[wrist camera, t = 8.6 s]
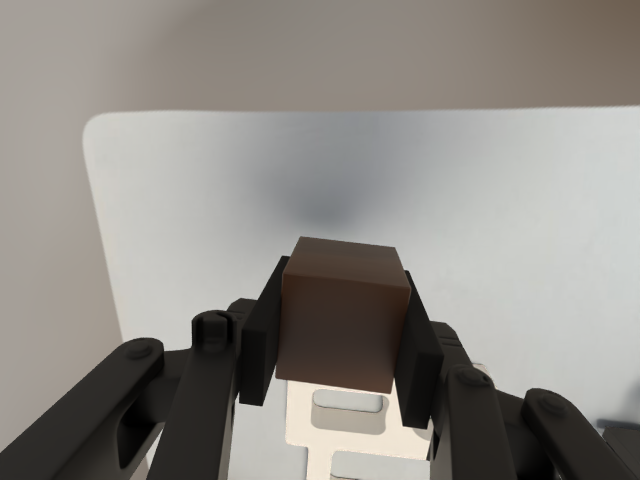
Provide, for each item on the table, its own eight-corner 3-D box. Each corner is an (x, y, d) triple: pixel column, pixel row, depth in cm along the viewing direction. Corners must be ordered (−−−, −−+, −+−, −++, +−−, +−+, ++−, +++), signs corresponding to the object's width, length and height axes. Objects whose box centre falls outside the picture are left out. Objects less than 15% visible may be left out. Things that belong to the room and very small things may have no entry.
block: (300, 235, 16) (282, 272, 12) (395, 247, 16) (412, 288, 12) (292, 319, 18) (274, 379, 14) (381, 331, 18) (391, 395, 13)
